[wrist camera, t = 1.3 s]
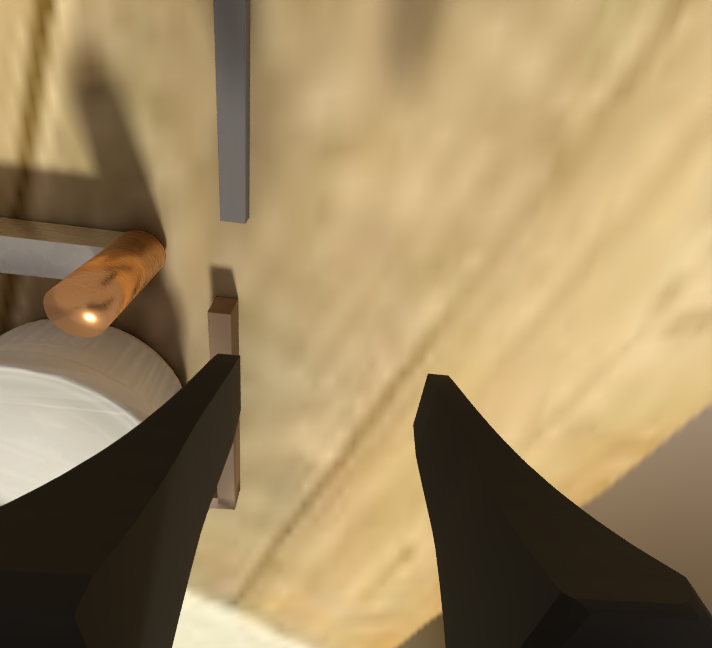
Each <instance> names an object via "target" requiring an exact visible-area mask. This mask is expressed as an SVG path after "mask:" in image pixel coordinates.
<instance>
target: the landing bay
mask: <svg viewBox="0 0 712 648" xmlns="http://www.w3.org/2000/svg"><path fill="white" fill-rule="evenodd" d="M214 32H215V63H216V95H217V127H218V158H219V190H220V221H228V222H236V223H244V224H245V223H246V222H247V220H248V219H249V139H250V0H214Z"/></svg>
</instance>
